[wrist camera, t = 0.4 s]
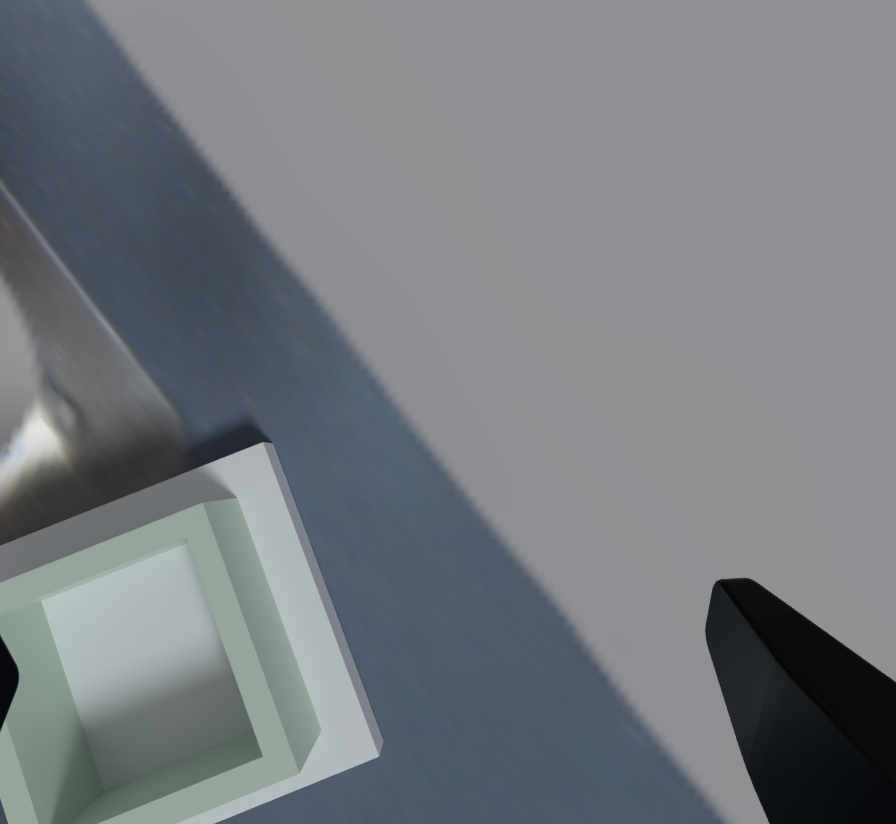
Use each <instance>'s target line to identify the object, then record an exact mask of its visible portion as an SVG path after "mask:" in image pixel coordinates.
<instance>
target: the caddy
mask: <svg viewBox="0 0 896 824" xmlns="http://www.w3.org/2000/svg"><path fill="white" fill-rule="evenodd" d="M0 635H1V637H2V639H3V640H4V642H5V644H6V646H7V648H8V649H9V651H10V653H11V655H12V657H13V659H14V660H15V662H16V664H17V666H18V669H19V683H18V688H17V691H16V693H15V696H14V698H13V701H12V704H11V706H10V709H9V711H8V714H7V716H6V719H5V722H4V724H3V727H2V729H1V732H0V799H1V802H2V805H3V808H4V812H5V815H6V818H7V821H8V824H214V823H216V822H219V821H221V820H224V819H226V818H229V817H231V816H234V815H236V814H239V813H241V812H244V811H246V810H249V809H251V808H253V807H256V806H258V805H261V804H263V803H266V802H268V801H271V800H273V799H276V798H278V797H281V796H283V795H286V794H288V793H290V792H293V791H295V790H298V789H300V788H303V787H305V786H308V785H310V784H313V783H315V782H318V781H320V780H322V779H325V778H327V777H330V776H332V775H335V774H337V773H340V772H342V771H345V770H347V769H350V768H352V767H355V766H357V765H359V764H362V763H364V762H367V761H369V760H372V759H374V758H377V757H379V755H380V751H381V748H382V744H383V739H382V736H381V733H380V731H379V728H378V725H377V723H376V720H375V717H374V714H373V712H372V709H371V706H370V704H369V701H368V698H367V696H366V693H365V690H364V687H363V685H362V682H361V679H360V677H359V674H358V671H357V669H356V666H355V663H354V661H353V658H352V655H351V652H350V650H349V647H348V644H347V642H346V639H345V636H344V634H343V631H342V628H341V625H340V623H339V620H338V617H337V615H336V612H335V609H334V607H333V604H332V601H331V599H330V596H329V593H328V590H327V588H326V585H325V582H324V580H323V577H322V574H321V572H320V569H319V566H318V563H317V561H316V558H315V555H314V553H313V550H312V547H311V545H310V542H309V539H308V537H307V534H306V531H305V528H304V526H303V523H302V520H301V518H300V515H299V512H298V510H297V507H296V504H295V501H294V499H293V496H292V493H291V491H290V488H289V485H288V483H287V480H286V477H285V475H284V472H283V469H282V466H281V464H280V461H279V458H278V456H277V453H276V450H275V448H274V445H273V443H266V442H262V443H259V444H257V445H254V446H252V447H249V448H247V449H244V450H242V451H239V452H236V453H234V454H231V455H229V456H226V457H224V458H221V459H219V460H216V461H214V462H211V463H209V464H206V465H203V466H201V467H198V468H196V469H193V470H191V471H188V472H186V473H183V474H181V475H178V476H176V477H173V478H170V479H168V480H165V481H163V482H160V483H158V484H155V485H153V486H150V487H148V488H145V489H143V490H140V491H138V492H135V493H132V494H130V495H127V496H125V497H122V498H120V499H117V500H115V501H112V502H110V503H107V504H105V505H102V506H99V507H97V508H94V509H92V510H89V511H87V512H84V513H82V514H79V515H77V516H74V517H72V518H69V519H67V520H64V521H61V522H59V523H56V524H54V525H51V526H49V527H46V528H44V529H41V530H39V531H36V532H34V533H31V534H28V535H26V536H23V537H21V538H18V539H16V540H13V541H11V542H8V543H6V544H3V545H1V546H0Z"/></svg>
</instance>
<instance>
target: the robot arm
mask: <svg viewBox="0 0 896 824" xmlns="http://www.w3.org/2000/svg"><path fill="white" fill-rule="evenodd" d="M705 632H706V641H707V646H708V649H709V652H710V655H711V659H712V662H713V665H714V668H715V671H716V675H717V678H718V681H719V684H720V687H721V691H722V694H723V697H724V700H725V703H726V706H727V710H728V713H729V716H730V719H731V723H732V726H733V729H734V732H735V735H736V739H737V742H738V745H739V748H740V751H741V754H742V757H743V760H744V763H745V766H746V768H747V771H748V774H749V776H750V779H751V781H752V784H753V786H754V789H755V791H756V793H757V796H758V798H759V800H760V803H761V805H762V807H763V810H764V812H765V814H766V817H767V819H768V821H769V823H770V824H896V682H895V681H894V680H892V679H891V678H890V677H888V676H886V675H885V674H884V673H882V672H881V671H880V670H878V669H877V668H876V667H874V666H873V665H871V664H870V663H869V662H867V661H866V660H864V659H863V658H862V657H860V656H859V655H857V654H856V653H855V652H853V651H852V650H850V649H849V648H848V647H846V646H845V645H844V644H842V643H841V642H839V641H838V640H837V639H835V638H834V637H832V636H831V635H830V634H828V633H827V632H825V631H824V630H823V629H821V628H820V627H818V626H817V625H816V624H814V623H813V622H811V621H810V620H809V619H807V618H806V617H804V616H803V615H802V614H800V613H799V612H797V611H796V610H795V609H793V608H792V607H791V606H789V605H788V604H786V603H785V602H784V601H782V600H781V599H779V598H778V597H777V596H775V595H774V594H772V593H771V592H769V591H768V590H767V589H765V588H764V587H763V586H761V585H760V584H758V583H757V582H755V581H754V580H751V579H749V578H736V579H735V578H734V579H721V580H718V581H716V582H715V584H714V586H713V589H712V594H711V599H710V605H709V610H708V616H707V621H706V628H705ZM18 683H19V669H18V666H17V664H16V662H15V660H14V659H13V657H12V655H11V653H10V651H9V649H8V648H7V646H6V644H5V642H4V640H3V639H2V637H1V635H0V732H1V729H2V727H3V724H4V722H5V719H6V716H7V714H8V711H9V709H10V706H11V704H12V701H13V698H14V696H15V693H16V691H17V688H18Z"/></svg>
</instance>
